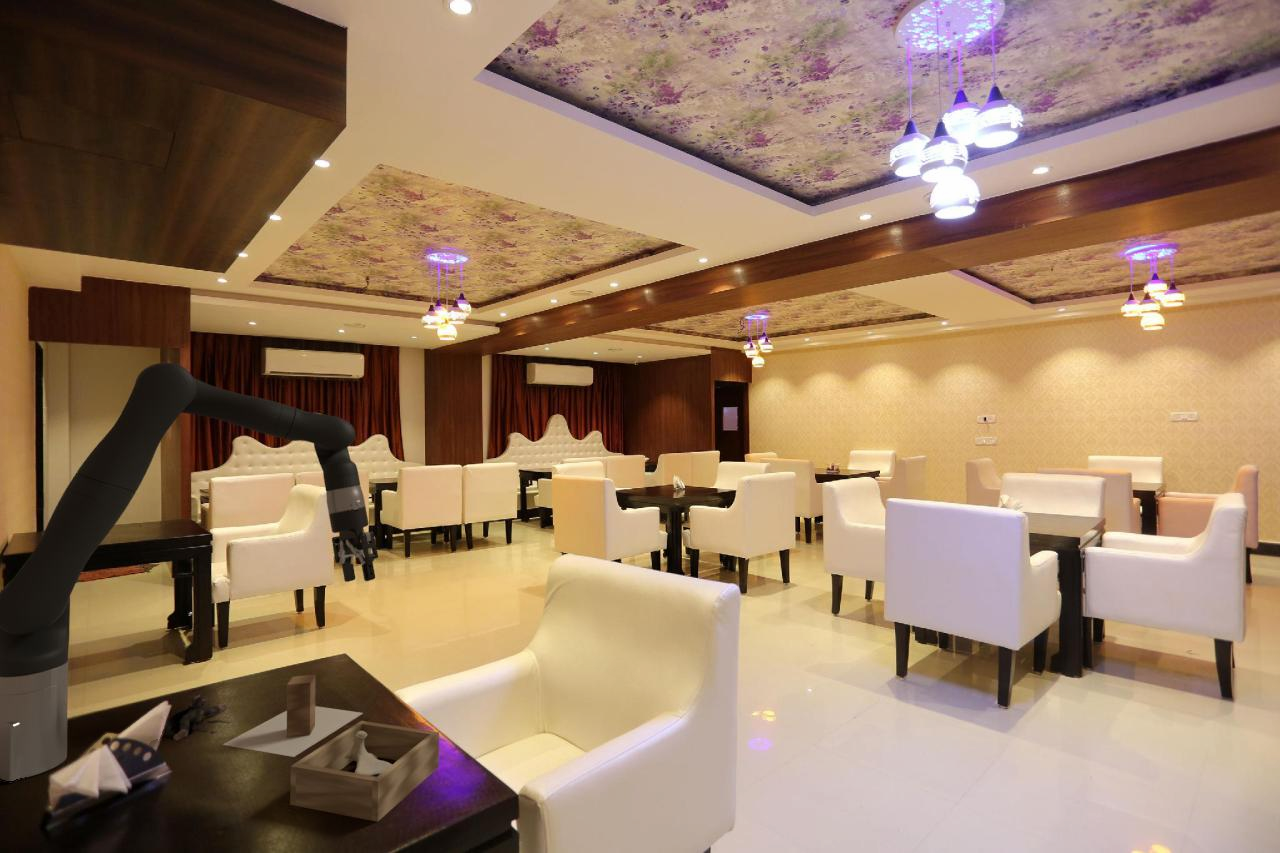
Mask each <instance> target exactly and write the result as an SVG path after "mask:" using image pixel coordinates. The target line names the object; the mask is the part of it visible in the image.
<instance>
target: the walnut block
mask: <svg viewBox="0 0 1280 853" xmlns="http://www.w3.org/2000/svg"><path fill="white" fill-rule="evenodd" d="M316 679H317V678H316V674H309V675H296V676H295V675H294V676H292V677H291V678H290V680H289V681H288V683H287V684H286V711H287V738H290V737H299V736H308V735H310V734H311V732H312V731H313V729H314V727H315V706H316Z"/></svg>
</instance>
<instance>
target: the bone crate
mask: <svg viewBox="0 0 1280 853" xmlns="http://www.w3.org/2000/svg"><path fill="white" fill-rule="evenodd" d="M358 731H364V732H366V733H367V736H366V738H365V740H364V747H365V749H366V751H367V752H368V753H371V754H373V755H374V756H377V757H378V758H381V759H387V760H393V761H395V762H394V763H393V764H392V765H391V766H390V767H389V768H387V769H386V770H385V771H384V772H382V773H381V774H378V775H377V776H375V775H373V776H368V775H363V774H357V773H355V772H351V771H345V770H342V769H344V768H345V767H347V766H348V765H350V764H351V763H352V762H355V761H354V760H351V759H345V756H347V755H348V754H349V753H350V752H351V751H352V749H353V746H354V736H355V734H356V733H357V732H358ZM439 765H440V731H432V730H427V729H426V730H425V729H420V728H419V729H418V728H413V727H406V726H400V725H390V724H385V723H378V722H373V721H372V722H371V721H365V720H360V721H359V722H357V723H356V724H354V725H352V726H351V727H350V728H348V729H346V730H344V731H343V732H341V733H340V734H338V735H337V736H336V737H333V738H332V739H331V740H329V741H327V742H326V743H325V744H323V745H321V746H320V747H318V748H316V749H315V750H313V751H312V752H311V753H309V754H307V755H306V756H304V757H303V758H301V759H300V760H298V761H297V762H294V763H293V764H292V765H290V784H289V787H290V790H289V792H290V803H289V805H291V806H295V807H300V808H306V809H309V810H310V809H311V810H315V811H320V812H327V813H331V814H337V815H341V816H347V817H352V818H357V819H362V820H368V821H371V822H372V821H373V822H379V821H380V820H382V818H384V817H385V816H386V815H387V814H388V813H389V812H390V811H391V810H392V809H394V808H395V807H396V806H397V805H398V804H399V803H400V802H402V801H403V800H404V799H405V798H406V797H407V796H408V795H409V794H411V792H413V791H414V790H415V789H416V788H417V787H419V785H420V784H422V783H423V782H424V781H425V780H426V779H427V778H428V777H429V776H430V775H432V774H433V773H434V772H435V771H436V770H437V769H439V768H440V767H439Z"/></svg>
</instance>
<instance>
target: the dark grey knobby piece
mask: <svg viewBox="0 0 1280 853" xmlns="http://www.w3.org/2000/svg"><path fill="white" fill-rule="evenodd" d="M206 703H207V699H206V698H205V697H204V696H203V695H202V694H199V695H196V696H194V697H192V698H191V699H190V701H189V703H188V704H187V707H186V708H184V709H181V710H180V711H177V712H175V713H173V714H172V715H171V716H170V717H169V718H168V720H167V723H166V726H165V729H164V734H165V738H172V737H173V738H172V740H173V741H178V740H181V739H184V738H188V735H189V734H193V733H194V732H198V733H209V734H211V735H212V734H215V733H217V732H218V729H213V730H211V731H210V732H209V730H207V729H202V728H199V726H200V725H201V724H202V722H203V721H202V719H203V717H204V718H208V717H211V716H212V717H213V716H217V715H220V714H221V713H223V712H225V711H226V710H227V709H228V708H229V705H228V703H226V702H225V703H224V702H223V703H220V704H218V705H215V706H212V707H211V706H209V705H208V704H206ZM234 722H236V720H235V719H234V720H231V721H224V720H221V719H215V720H214V719H213V720H210V721H209V720H208V721H206V723H207V724H215V723H223V724H224V723H226V724H232V723H234Z"/></svg>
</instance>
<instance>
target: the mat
mask: <svg viewBox="0 0 1280 853" xmlns="http://www.w3.org/2000/svg"><path fill="white" fill-rule="evenodd" d="M361 715H364V713H363V712H359V711H354V710H353V711H352V710H345V709H338V708H330V707H323V706H318V705H315V727H314V729H313V731H312V732H311V734H310V735H308V736H299V737H290V738H287V710H285V711H283V712H281V713H280V714H277V715H276V716H274V717H272V718H269V719H268V720H267V721H264V722H263V723H260V724H259V725H257V726H254V727H253V728H251V729H250V730H247V731H246V732H243V733H242V734H240V735H238V736H236V737H234V738H232V739H230V740H229V741H227V742H225V743H222V746H228V747H233V748H238V749H243V750H250V751H256V752H262V753H267V754H273V755H278V756H279V755H280V756H285V757H290V758H291V757H292V758H295V757H297V755H299V754H301V753H303V752H304V751H306V750H307V749H309V748H310V747H312V746H313V745H315V744H317V743H319V742H320V741H322V740H323V739H325V738H326V737H328V736H330V735H331V734H333V733H334V732H336V731H338V730H340V728H342V727H344V726H345V725H347V724H349V723H350V722H352V721H354V720H355V719H356V718H358V717H360V716H361Z"/></svg>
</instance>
